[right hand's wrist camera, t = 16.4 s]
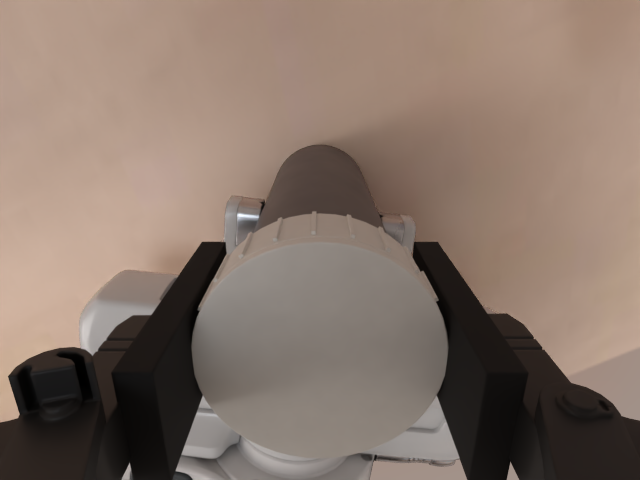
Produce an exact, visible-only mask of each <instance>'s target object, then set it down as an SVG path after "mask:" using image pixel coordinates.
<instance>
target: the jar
mask: <svg viewBox="0 0 640 480" xmlns="http://www.w3.org/2000/svg"><path fill="white" fill-rule="evenodd" d="M313 211H316V214H319V213H321V214H336V215H341V216H347V214H348V215H351V217H352V218H354V219H357V220H360V221H363V222H366V223H368V224H370V225H372V226H375V227H377V228H378V227H379V226H380V227H382V228H383V230H384V232H385V233H386V234H387V232H386V230H385V228H384V225H383V223H382V221H381V218H380V216H379V213H378V211H377V209H376V206H375V204H374V202H373V199H372V197H371V194H370V192H369V190H368V187H367V185H366V182H365V180H364V178H363V175H362V173H361V171H360V169H359V167H358V165H357V164H356V162H355V161H354V160H353V159H352V158H351V157H350V156H349V155H348V154H346V153H345V152H343V151H341V150H339V149H337V148H334V147H331V146H326V145H313V146H308V147H305V148H302V149H300V150H298V151H296V152H295V153H293V154H292V155H291V156H290V157H289V158H287V160H286V161H285V162H284V163H283V165H282V166H281V168H280V170H279V172H278V174H277V177H276V179H275V181H274V184H273V186H272V189H271V191H270V193H269V196H268V198H267V201H266V203H265V205H264V208H263V210H262V212H261V215H260V217H259V220H258V222H257V224H256V227H255V229H254V232H253V233H255V232H256V231H258V230H259V229H261V228H263V227H265V226H267V225H269V224H271V223H274V222H276V221H277V220H278V218H281V217H282V219H285V218H289V217H293V216H299V215H304V214H312V212H313Z"/></svg>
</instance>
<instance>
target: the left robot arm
mask: <svg viewBox="0 0 640 480" xmlns="http://www.w3.org/2000/svg"><path fill="white" fill-rule="evenodd" d="M264 205H265V200H262V199H255V198H247V197H242V196H231V198H230V199H229V201H228V202H227V206H226V211H225V227H224V238H223V240H222V241H221V242H226V252H227V253H228V254H229V255H230V254H231V253H232V252H233V251H234V250H235V249H236V247H237V246H238V245H239V244H241V243H242V242H243V241H244V240H245V239H246V238H247V235H248V233H250V232H252V233H253V232H254V229H255V227H256V224H257V222H258V220H259V217H260V215H261V212H262V210H263V208H264ZM379 216H380V218H381V221H382V223H383V225H384V228H385V230H386V232H387V234H388V235H389V236H391V237H392V238H393V239H395V240H396V241H397V242H398V243H399V244H400V245H401V246H402V247H404V246H406V247H407V248H408V249H409V251H410V253H412V248H413V244H414V239H415V234H416V225H415V222H414V220H413V219H412V217H411V216H409V215H400V214H391V213H381V212H379ZM178 276H179V275H174V274H165V273H155V272H146V271H137V270H124V271H122V272H120V273H118V274H117V275H116V276H114V277H113V278H112V279H111V280H110V281H108V282H107V283H106V284H105V285H104V286H103V287H101V288H100V289H99V290H98V291H97V293H96V294H95V295H94V296H93V297H92V298H91V299H90V300H89V302H88V303H87V304H86V306H85V307H84V309H83V311H82V313H81V316H80V320H79V339H80V348H81V349H85V350H87V351H88V352H89V353H90V354H92V356H93V354H94V353H95V352H96V351H98V348H99V347H100V346H101V344H102V343H103V342H104V341H106V338H107V337H108V336H109V335H110V333H111V332H112V331H113V330H114V328H115V327H116V326H117V325H119V324H120V323H122V322H123V321H125V320H126V319H128V318H129V317H131V316H132V315H152V313H153V312H154V310H155V309H156V307H157V306H158V305H159V303H160V302H161V300H162V299H163V297H164V296H165V295H166V293H167V292H168V290H169V289H170V287H171V286H172V284H173V283H174V282H175V280H176V279H177V277H178ZM483 308H484V309H485V311H486V312H487V314H496V313H495V312H494V311H492V310H491V309H490V308H487V307H483ZM457 459H460V458H459V455H458V452H457V450H456V447H455V444H454V441H453V439H452V436H451V433H450V430H449V428H448V425H447V422H446V419H445V417H444V414H443V411H442V408H441V406H440V403H439V400H438V397H437V395H436V397H435V399H434V401H433V402H432V404H431V405H430V406H429V408H428V409H427V410H426V412H425V413H424V414H423V415H422V416H421V417H420V418H419V419H418V420H417V421H416V422H415V423H414V424H413V425H412V426H411V427H409V428H408V429H407V430H406V431H405V432H403V433H402V434H400V435H399V436H397V437H395V438H394V439H392V440H390V441H388V442H386V443H384V444H382V445H380V446H378V447H376V448H373V449H370V450H367V451H365V452H361V453H357V454H353V455H349V456H342V457H335V458H304V457H298V456H291V455H286V454H283V453H279V452H275V451H272V450H269V449H267V448H264V447H261V446H259V445H257V444H255V443H253V442H251V441H249V440H247V439H246V438H244V437H243V436H241V435H239V434H238V433H236V432H235V431H234V430H233V429H231V428H230V427H229V426H228V425H226V424H225V423H224V422H223V421H222V420H221V419H220V418H219V417H218V416H217V415H216V413H215V412H214V411H213V410H212V408H211V407H210V406H209V404H208V403H207V401H206V400H205V398H204V396H203V397H202V399H201V402H200V405H199V408H198V410H197V413H196V416H195V419H194V421H193V424H192V427H191V430H190V432H189V435H188V438H187V441H186V443H185V446H184V449H183V452H182V454H181V457H180V460H179V463H178V465H177V468H176V471H175V474H174V476H173V479H172V480H369V479H370V475H371V470H372V465H373V462H374V460H375V461H385V462H396V463H411V462H419V463H421V462H422V463H429V464H430V465H433V466H451V465H454V463H455V460H457ZM121 480H133V476H132V472H131V467H130V463H129V465H128V467H127V469H126V471H125V473H124V475H123V477H122V479H121Z"/></svg>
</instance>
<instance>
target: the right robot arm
mask: <svg viewBox="0 0 640 480" xmlns="http://www.w3.org/2000/svg"><path fill="white" fill-rule="evenodd" d="M226 255H227V252H226V242H202V243H201V244H200V246H199V247H198V249H197V250H196V252H195V253H194V254H193V256H192V257H191V259H190V260H189V262H188V263H187V264H186V266H185V267H184V269H183V270H182V272H181V273H180V274H179V276H178V277H177V279H176V280H175V282H174V283H173V284H172V286H171V287H170V289H169V290H168V292H167V293H166V295H165V296H164V297H163V299H162V300H161V302H160V303H159V305H158V306H157V307H156V309H155V310H154V312H153V313H152V315H132V316H131V317H129V318H128V319H126V320H125V321H123V322H122V323H120V324H119V325H117V326H116V327H115V328H114V330H113V331H112V332H111V333H110V335H109V336H108V337H107V338H106V341H104V342H103V343H102V344H101V346H100V347H99V348H98V351H96V352H95V353H94V354H93V356H92V354H90V353H89V352H88V351H87V350H85V349H81V348H76V347H69V348H58V349H54V350H50V351H46V352H43V353H41V354H38V355H36V356H34V357H31V358H29V359H27V360H26V361H24V362H23V363H21V364H20V365H18V366H17V367H16V368H15V369H14V370H13V371H12V372H11V374H10V375H9V376H8V378H9V381H10V384H11V387H12V391H13V394H14V397H15V400H16V404H17V407H18V410H19V413H20V415H19V418H17V419H14V420H10V421H6V422H1V423H0V480H121V479H122V477H123V475H124V473H125V471H126V469H127V467H128V465H129V463H130V467H131V472H132V476H133V480H172V479H173V476H174V474H175V471H176V468H177V465H178V463H179V460H180V457H181V454H182V452H183V449H184V446H185V443H186V441H187V438H188V435H189V432H190V430H191V427H192V424H193V421H194V419H195V416H196V413H197V410H198V408H199V405H200V402H201V399H202V397H203V394H202V392H201V390H200V389H199V386H198V383H197V380H196V378H195V375H194V367H193V360H192V351H191V342H192V333H193V329H194V325H195V322H196V318H197V316H198V314H199V312H200V311H198V310H197V309H198V307H199V305H200V303H201V301H202V299H203V297H204V295H205V293H206V291H207V289H208V287H209V285H210V283H211V282H212V280H213V279H214V277H215V275H216V273H217V271H218V269H219V267H220V265H221V264H222V262H223V260H224V258H225V256H226ZM413 259H414V261H415V263H416V265H417V266H418V268H419V270H420V272H421V271H424V273H425V275H426V277H427V279H428V281H429V282H430V284H431V286H432V288H433V290H434V292H435V294H436V296H437V298H438V300H439V301H436V303H437V305H438V308H439V310H440V312H441V314H442V317H443V319H444V323H445V326H446V330H447V336H448V347H449V348H448V356H447V365H446V372H445V377H444V380H443V382H442V385H441V388H440V390H439V392H438V394H437V397H438V400H439V403H440V406H441V408H442V411H443V414H444V417H445V419H446V422H447V425H448V428H449V430H450V433H451V436H452V439H453V441H454V444H455V447H456V450H457V452H458V455H459V458H460V461H461V463H462V466H463V469H464V472H465V474H466V477H467V480H507V475H508V470H509V465H510V461H511V463H512V466H513V468H514V470H515V472H516V474H517V476H518V478H519V480H640V421H638V420H634V419H629V418H626V417H622V416H621V414H620V413H619V412H618V410H617V409H616V407H615V406H614V405H613V403H611V402H610V401H609V400H607V399H606V398H605V397H603V396H602V395H601V394H599V393H597V392H595V391H593V390H591V389H589V388H587V387H583V386H580V385H576V384H573V383H571V382H570V381H569V380H568V379H567V377H566V376H565V375H564V374H563V372H562V371H561V370H560V369H559V368H558V366H557V365H556V364H555V363H554V361H553V360H552V359H551V358H550V356H549V355H548V354H547V353H546V352H545V350H542V347H541V345H540V344H539V343H538V342H537V340H536V339H534V337H533V335H532V334H531V333H530V332H529V331H528V329H527V328H526V327H525V326H524V324H522V323H521V322H519V321H517V320H516V319H514V318H513V317H511V316H510V315H508V314H487V312H486V311H485V309H484V308H483V306H482V305H481V304H480V302H479V301H478V299H477V298H476V296H475V295H474V294H473V292H472V291H471V289H470V288H469V286H468V285H467V283H466V282H465V281H464V279H463V278H462V276H461V275H460V273H459V272H458V271H457V269H456V268H455V266H454V265H453V263H452V262H451V261H450V259H449V258H448V256H447V255H446V253H445V252H444V251H443V249H442V248H441V246H440V245H439V243H438V242H414V248H413Z"/></svg>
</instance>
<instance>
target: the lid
mask: <svg viewBox="0 0 640 480" xmlns="http://www.w3.org/2000/svg"><path fill="white" fill-rule="evenodd" d="M436 301H439V300H438V298H437V296H436V294H435V292H434V290H433V288H432V286H431V284H430V282H429V281H428V279H427V277H426V275H425V273H424V271H421V272H420V270H419V268H418V266H417V265H416V263H415V261H414V259H413V257H412V255H411V253H410V251H409V249H408V248H407V247H406V246H404V247H402V246H401V245H400V244H399V243H398V242H397V241H396V240H395V239H393V238H392V237H391V236H389V235H388V234H386V233H385V232H384V230H383V228H382V227H380V226H379V227H378V228H377V227H375V226H372V225H370V224H368V223H366V222H363V221H360V220H357V219H354V218H352V217H351V215H348V214H347V216H341V215H336V214H321V213H319V214H316V211H313V212H312V214H304V215H299V216H293V217H289V218H285V219H282V217H281V218H278V220H277V221H276V222H274V223H271V224H269V225H267V226H265V227H263V228H261V229H259V230H258V231H256V232H255V233H252V232H250V233H248V235H247V238H246V239H245V240H244V241H243V242H242V243H241V244H239V245H238V246H237V247H236V249H235V250H234V251H233V252H232V253H231V254H230V255H229V254H228V253H227V255H226V256H225V258H224V260H223V262H222V264H221V265H220V267H219V269H218V271H217V273H216V275H215V277H214V279H213V280H212V282H211V283H210V285H209V287H208V289H207V291H206V293H205V295H204V297H203V299H202V301H201V303H200V305H199V307H198V309H197V310H198V311H200V312H199V314H198V316H197V318H196V322H195V325H194V329H193V333H192V342H191V351H192V360H193V367H194V375H195V378H196V380H197V383H198V386H199V389H200V390H201V392H202V394H203V396H204V398H205V400H206V401H207V403H208V404H209V406H210V407H211V408H212V410H213V411H214V412H215V413H216V415H217V416H218V417H219V418H220V419H221V420H222V421H223V422H224V423H225V424H226V425H228V426H229V427H230V428H231V429H233V430H234V431H235V432H236V433H238V434H239V435H241V436H243V437H244V438H246V439H247V440H249V441H251V442H253V443H255V444H257V445H259V446H261V447H264V448H267V449H269V450H272V451H275V452H279V453H283V454H286V455H291V456H298V457H304V458H335V457H342V456H349V455H353V454H357V453H361V452H365V451H367V450H370V449H373V448H376V447H378V446H380V445H382V444H384V443H386V442H388V441H390V440H392V439H394V438H395V437H397V436H399V435H400V434H402V433H403V432H405V431H406V430H407V429H408V428H409V427H411V426H412V425H413V424H414V423H415V422H416V421H417V420H418V419H419V418H420V417H421V416H422V415H423V414H424V413H425V412H426V410H427V409H428V408H429V406H430V405H431V404H432V402H433V401H434V399H435V397H436V395H437V394H438V392H439V390H440V388H441V385H442V382H443V380H444V377H445V372H446V365H447V356H448V348H449V347H448V336H447V330H446V326H445V323H444V319H443V317H442V314H441V312H440V310H439V308H438V305H437V303H436Z"/></svg>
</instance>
